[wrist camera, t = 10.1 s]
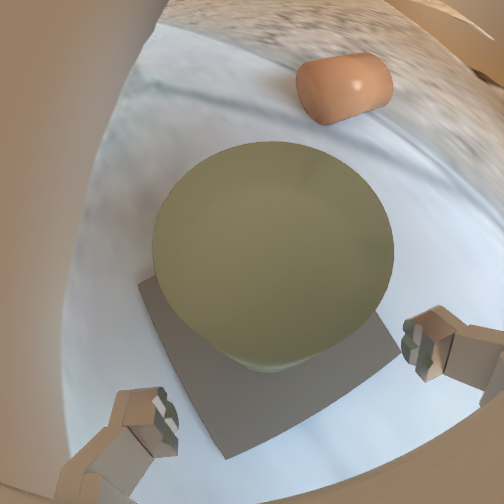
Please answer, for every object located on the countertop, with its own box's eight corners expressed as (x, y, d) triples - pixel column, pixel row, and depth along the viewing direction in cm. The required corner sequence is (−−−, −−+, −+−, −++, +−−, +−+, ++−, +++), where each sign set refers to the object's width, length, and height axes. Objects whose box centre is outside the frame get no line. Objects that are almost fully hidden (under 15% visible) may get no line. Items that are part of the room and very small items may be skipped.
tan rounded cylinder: (396, 64, 19) (389, 117, 24) (349, 45, 23) (347, 94, 28) (341, 74, 18) (339, 136, 23) (294, 55, 21) (297, 109, 26)
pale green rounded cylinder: (284, 263, 18) (305, 119, 8) (334, 341, 16) (435, 270, 6) (202, 306, 17) (126, 196, 7) (248, 391, 15) (220, 409, 5)
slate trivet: (297, 208, 21) (298, 202, 20) (396, 353, 16) (401, 352, 15) (142, 288, 18) (137, 284, 18) (227, 456, 14) (225, 460, 13)
